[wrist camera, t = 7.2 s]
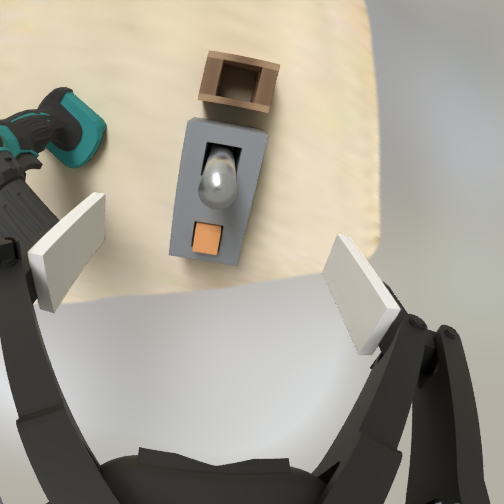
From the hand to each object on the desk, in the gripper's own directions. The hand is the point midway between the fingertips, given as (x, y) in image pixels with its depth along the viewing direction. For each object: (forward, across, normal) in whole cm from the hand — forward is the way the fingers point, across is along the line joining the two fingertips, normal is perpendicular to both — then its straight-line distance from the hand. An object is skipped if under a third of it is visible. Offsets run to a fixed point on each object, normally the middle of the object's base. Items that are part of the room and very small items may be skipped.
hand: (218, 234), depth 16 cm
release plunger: (+25, 0, -9) cm, 27 cm away
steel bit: (+26, 0, 0) cm, 26 cm away
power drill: (+26, -22, 0) cm, 34 cm away
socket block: (+26, 0, -4) cm, 26 cm away
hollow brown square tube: (+26, 0, +10) cm, 27 cm away
